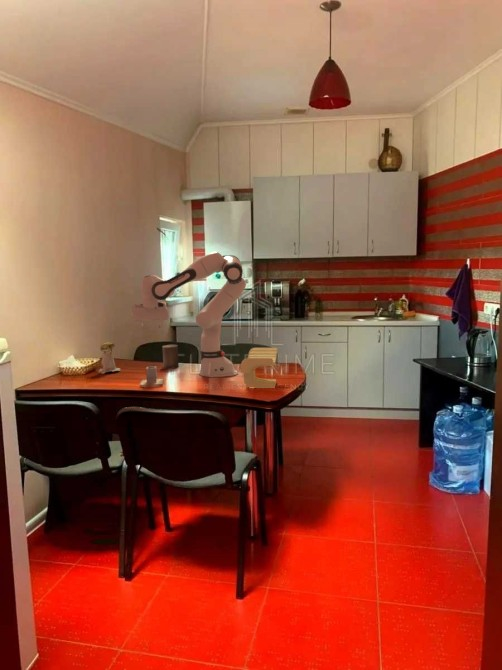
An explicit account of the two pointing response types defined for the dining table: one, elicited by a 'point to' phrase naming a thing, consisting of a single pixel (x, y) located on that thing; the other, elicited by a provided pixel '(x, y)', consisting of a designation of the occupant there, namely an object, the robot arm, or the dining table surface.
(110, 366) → the beige sitting figure
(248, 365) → the wooden slatted rack
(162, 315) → the robot arm
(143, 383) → the post
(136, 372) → the dining table surface
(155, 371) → the grey rectangular block
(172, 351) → the pillar candle
